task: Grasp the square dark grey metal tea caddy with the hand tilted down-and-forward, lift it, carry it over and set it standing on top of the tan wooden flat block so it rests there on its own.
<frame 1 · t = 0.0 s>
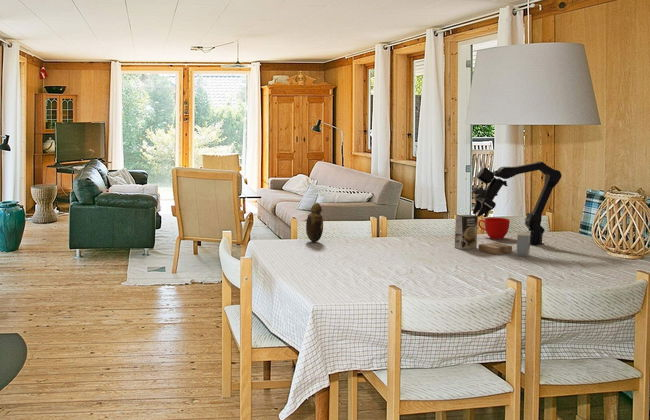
hand: (475, 215, 375), 15 cm above the table, tool tilted 35°, fingers open, 9 cm apart
tan wooden flat block: (495, 251, 359), on the table
sculpture: (314, 242, 381), on the table
coffee box: (465, 248, 368), on the table
tea caddy: (523, 255, 349), on the table
ceramic cup: (492, 238, 398), on the table
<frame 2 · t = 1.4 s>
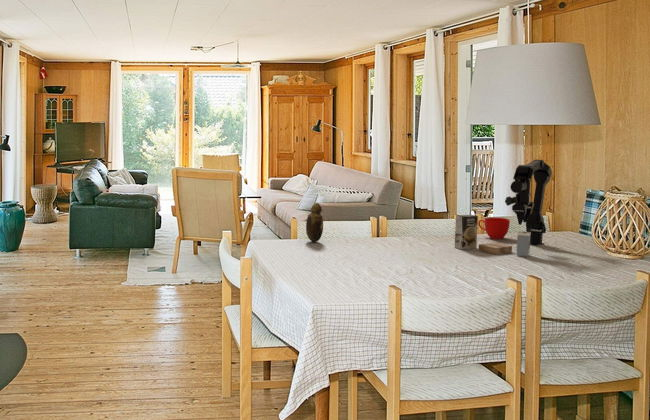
hand: (522, 223, 362), 13 cm above the table, tool pointing down, fingers open, 9 cm apart
nothing on the table moved.
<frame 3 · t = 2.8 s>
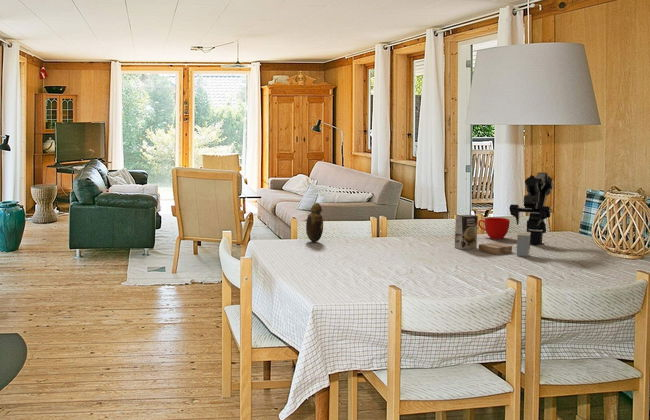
hand: (527, 224, 355), 13 cm above the table, tool tilted 45°, fingers open, 9 cm apart
nothing on the table moved.
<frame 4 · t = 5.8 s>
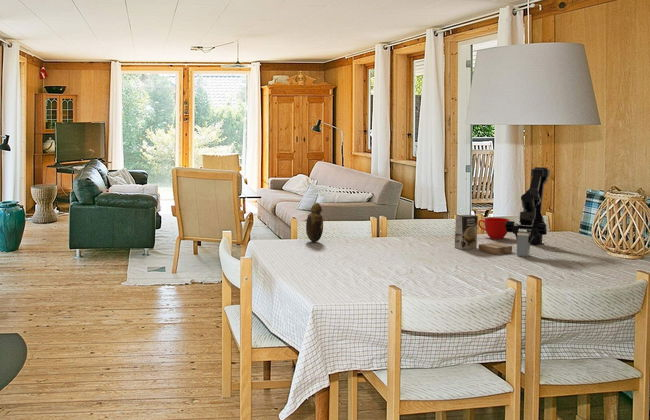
hand: (523, 242, 347), 7 cm above the table, tool tilted 45°, fingers closed on tea caddy, 5 cm apart
tea caddy: (522, 255, 349), on the table, touching gripper
everything else where it was.
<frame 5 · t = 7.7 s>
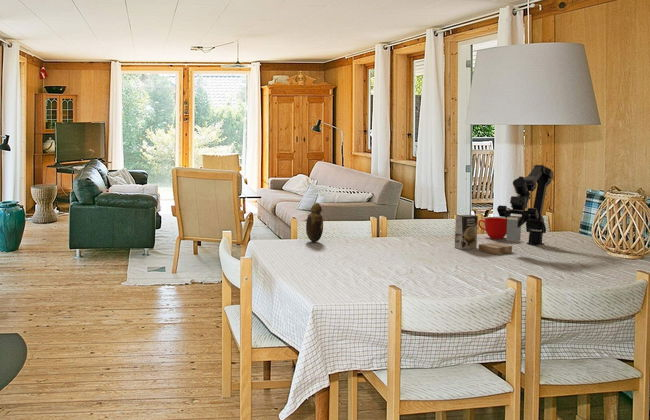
hand: (512, 226, 349), 13 cm above the table, tool tilted 45°, fingers closed on tea caddy, 5 cm apart
tea caddy: (513, 240, 351), point 7 cm above the table, touching gripper
everything else where it was.
when the fingers open (10 cm above the table, at t = 9.5 s): tea caddy stays where it is, resting on tan wooden flat block.
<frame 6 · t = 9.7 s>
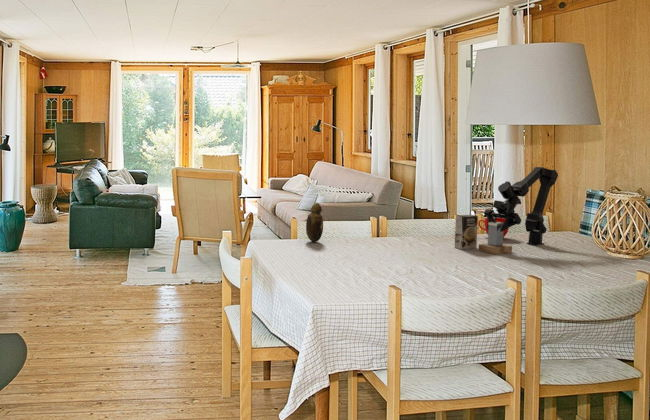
hand: (494, 230, 357), 11 cm above the table, tool tilted 45°, fingers open, 7 cm apart
tea caddy: (495, 245, 359), point 3 cm above the table, touching tan wooden flat block
everything else where it was.
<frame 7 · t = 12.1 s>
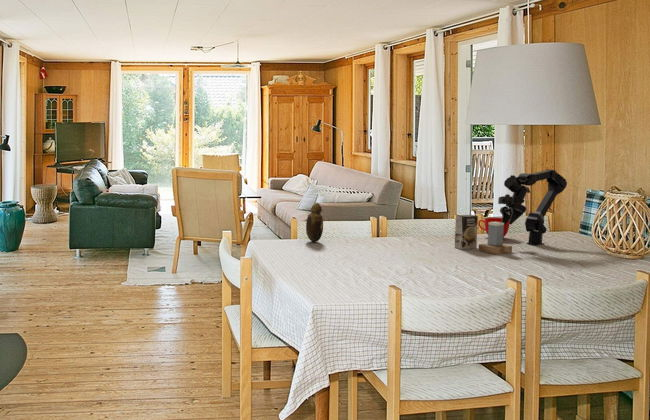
hand: (506, 225, 365), 12 cm above the table, tool tilted 30°, fingers open, 9 cm apart
nothing on the table moved.
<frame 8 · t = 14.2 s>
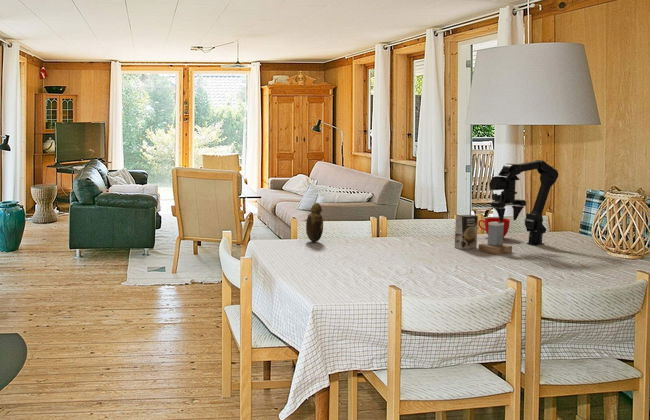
hand: (508, 220, 370), 13 cm above the table, tool pointing down, fingers open, 9 cm apart
nothing on the table moved.
at the end: tea caddy inside the target area on the tan wooden flat block (0.0 cm from its centre), point 3.0 cm above the tan wooden flat block's base; tea caddy tilted 0°; the gripper is holding nothing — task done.
